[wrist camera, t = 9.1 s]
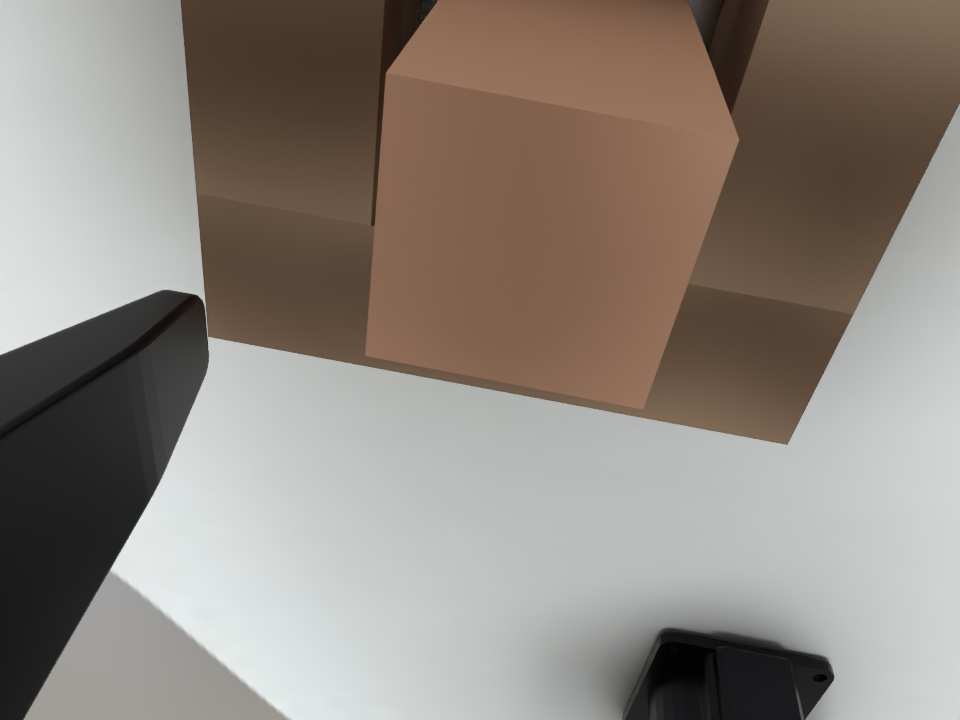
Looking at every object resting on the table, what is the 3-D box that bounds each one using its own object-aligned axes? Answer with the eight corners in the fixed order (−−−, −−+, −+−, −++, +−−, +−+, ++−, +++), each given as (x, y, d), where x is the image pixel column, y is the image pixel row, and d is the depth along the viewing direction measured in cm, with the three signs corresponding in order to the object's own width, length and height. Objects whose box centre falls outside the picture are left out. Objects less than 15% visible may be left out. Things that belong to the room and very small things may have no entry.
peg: (627, 144, 19) (643, 409, 11) (463, 114, 19) (364, 355, 11) (674, -35, 17) (738, 139, 9) (488, -70, 17) (385, 72, 9)
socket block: (760, 347, 22) (787, 445, 19) (264, 256, 22) (208, 337, 19) (1042, -304, 14) (1176, -328, 11) (245, -440, 14) (139, -503, 11)
